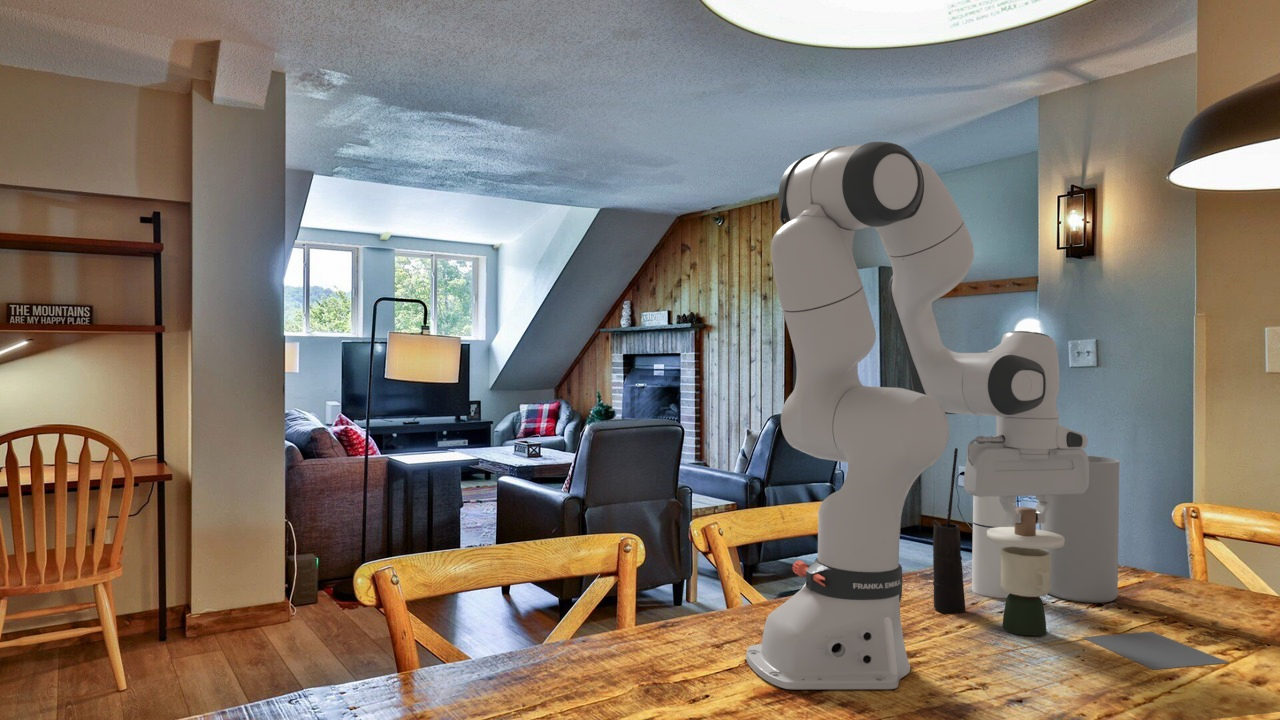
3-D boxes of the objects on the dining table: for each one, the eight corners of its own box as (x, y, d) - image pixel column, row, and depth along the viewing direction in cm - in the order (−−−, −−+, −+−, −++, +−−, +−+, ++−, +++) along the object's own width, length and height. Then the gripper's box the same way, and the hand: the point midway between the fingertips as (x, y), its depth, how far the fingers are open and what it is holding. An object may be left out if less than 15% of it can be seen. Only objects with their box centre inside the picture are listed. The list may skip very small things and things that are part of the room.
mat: (1153, 673, 111) (1153, 669, 111) (1081, 641, 123) (1081, 637, 123) (1229, 666, 113) (1229, 662, 113) (1151, 635, 126) (1151, 631, 126)
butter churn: (903, 602, 142) (905, 443, 142) (951, 598, 144) (953, 442, 144) (934, 618, 133) (936, 449, 133) (984, 615, 135) (986, 448, 135)
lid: (1018, 550, 120) (1019, 516, 120) (971, 534, 130) (972, 503, 130) (1081, 547, 122) (1081, 514, 122) (1030, 531, 133) (1031, 501, 133)
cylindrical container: (964, 586, 152) (966, 454, 152) (1000, 586, 153) (1002, 454, 153) (984, 598, 145) (986, 459, 145) (1022, 597, 146) (1024, 459, 146)
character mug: (1068, 645, 121) (1070, 559, 121) (1026, 647, 120) (1027, 560, 120) (1022, 621, 132) (1023, 542, 132) (982, 623, 131) (984, 543, 131)
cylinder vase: (1132, 604, 142) (1134, 463, 142) (1061, 603, 142) (1063, 462, 142) (1093, 584, 155) (1095, 454, 154) (1028, 583, 155) (1029, 454, 155)
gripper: (981, 438, 121) (979, 530, 121) (1096, 436, 125) (1095, 525, 125) (955, 434, 127) (954, 521, 127) (1067, 433, 131) (1065, 517, 131)
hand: (1025, 523), depth 126 cm, fingers closed on lid, 3 cm apart
